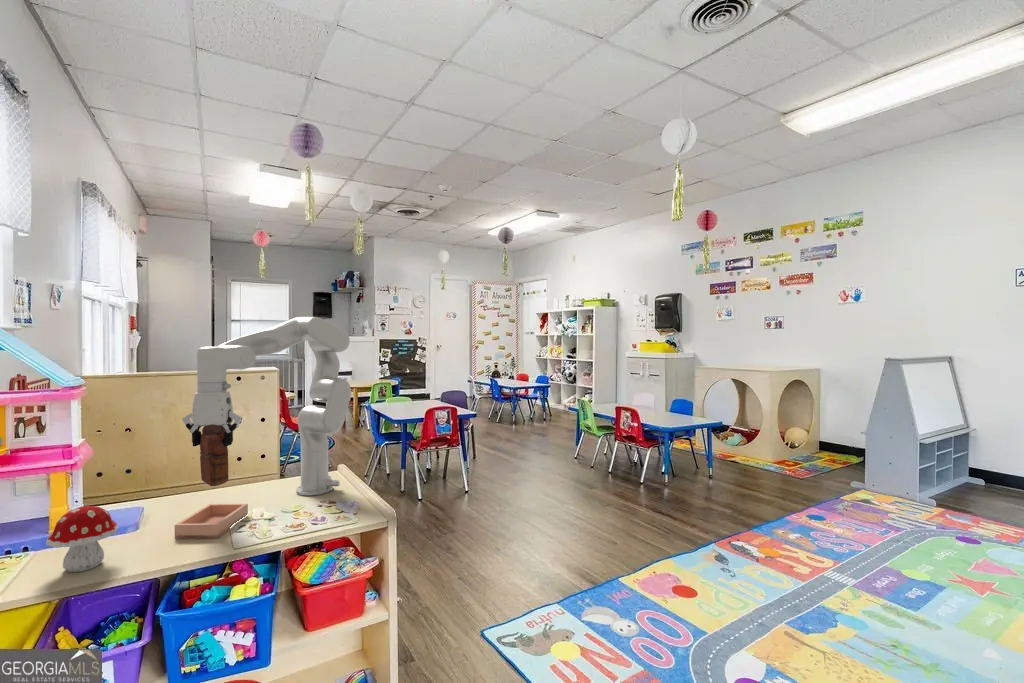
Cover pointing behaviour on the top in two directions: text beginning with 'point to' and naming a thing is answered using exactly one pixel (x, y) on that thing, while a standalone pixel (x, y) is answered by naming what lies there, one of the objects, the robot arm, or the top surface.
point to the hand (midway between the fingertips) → (212, 445)
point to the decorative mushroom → (82, 536)
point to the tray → (210, 521)
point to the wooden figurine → (213, 455)
